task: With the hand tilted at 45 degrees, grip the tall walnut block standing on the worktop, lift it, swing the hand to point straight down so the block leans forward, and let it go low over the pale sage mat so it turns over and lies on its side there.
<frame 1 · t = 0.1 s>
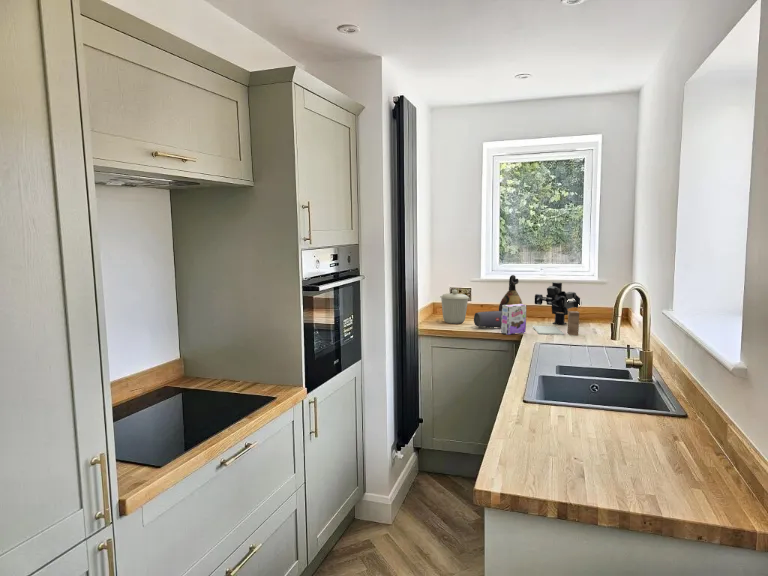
hand: (544, 302, 313), 17 cm above the worktop, tool horizontal, fingers open, 9 cm apart
bluetooth speaker: (493, 327, 320), on the worktop
walnut block: (572, 334, 301), on the worktop
ceramic jug: (510, 321, 343), on the worktop
sage mat: (547, 330, 311), on the worktop
canister: (454, 322, 336), on the worktop
candy box: (513, 333, 303), on the worktop
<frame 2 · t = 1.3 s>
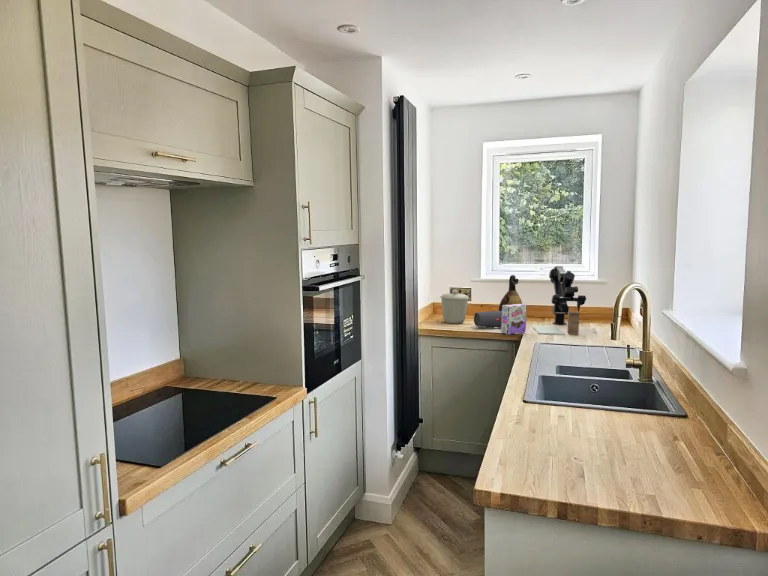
hand: (570, 311, 307), 12 cm above the worktop, tool tilted 45°, fingers open, 9 cm apart
nothing on the worktop moved.
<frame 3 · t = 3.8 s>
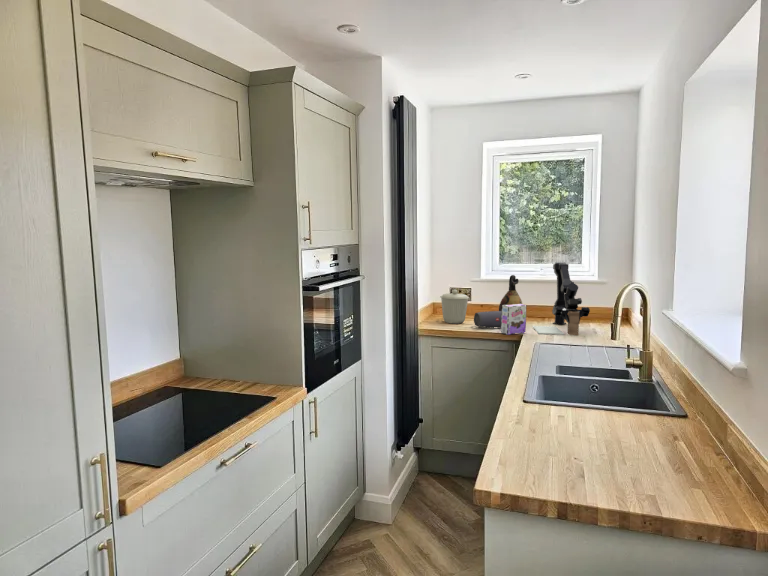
hand: (573, 323, 299), 7 cm above the worktop, tool tilted 45°, fingers closed on walnut block, 5 cm apart
walnut block: (572, 334, 301), on the worktop, touching gripper
everything else where it was.
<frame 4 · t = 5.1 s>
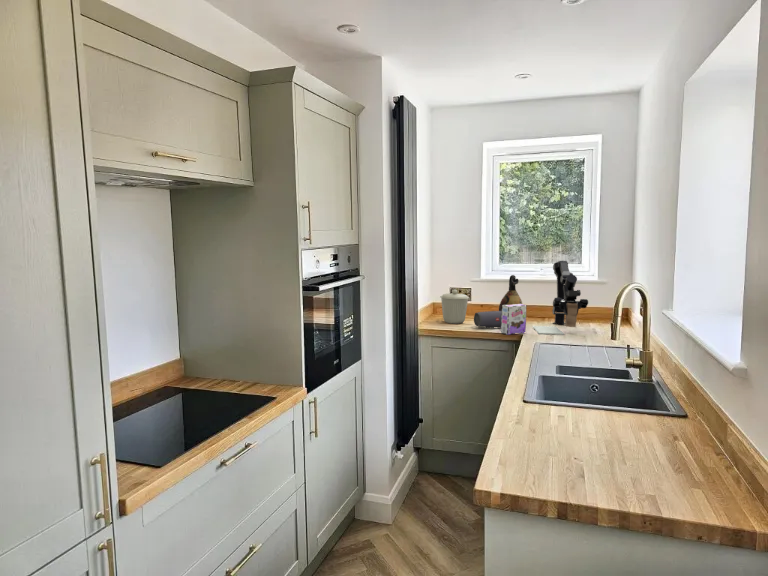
hand: (571, 315, 299), 11 cm above the worktop, tool tilted 40°, fingers closed on walnut block, 5 cm apart
walnut block: (570, 325, 301), point 5 cm above the worktop, touching gripper
everything else where it was.
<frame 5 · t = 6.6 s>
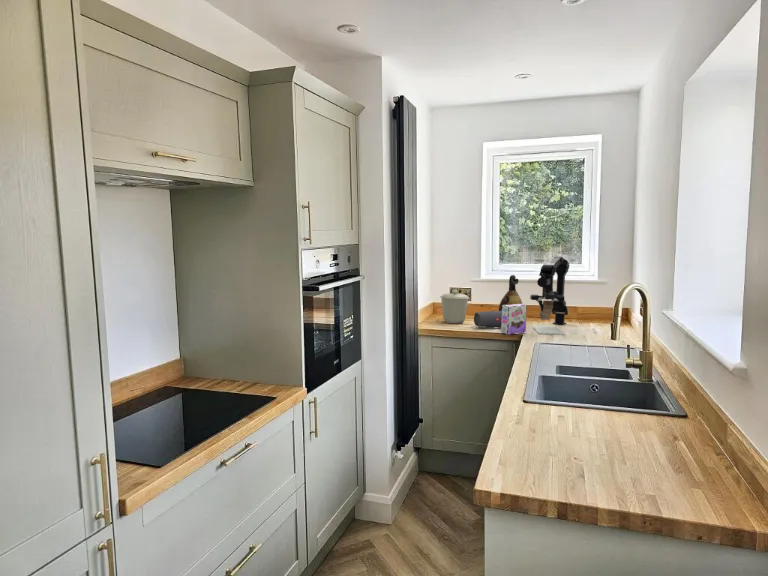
hand: (546, 311, 312), 11 cm above the worktop, tool pointing down, fingers closed on walnut block, 5 cm apart
walnut block: (544, 316, 318), point 7 cm above the worktop, tilted 45°, touching gripper
everything else where it was.
when the fingers open (7 cm above the worktop, at t = 8.2 s): walnut block moves 2 cm and tips over, resting on sage mat.
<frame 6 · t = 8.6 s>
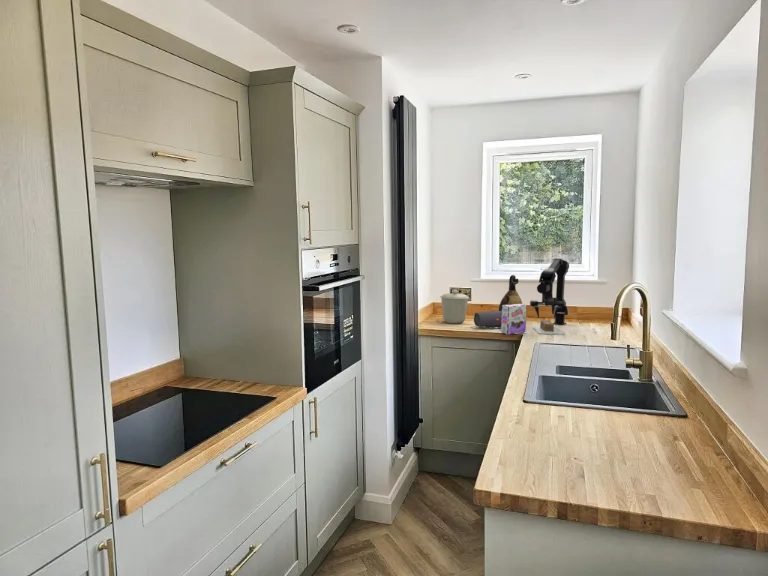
hand: (546, 318, 313), 7 cm above the worktop, tool pointing down, fingers open, 9 cm apart
walnut block: (544, 323, 317), point 3 cm above the worktop, tilted 90°, touching sage mat
everything else where it was.
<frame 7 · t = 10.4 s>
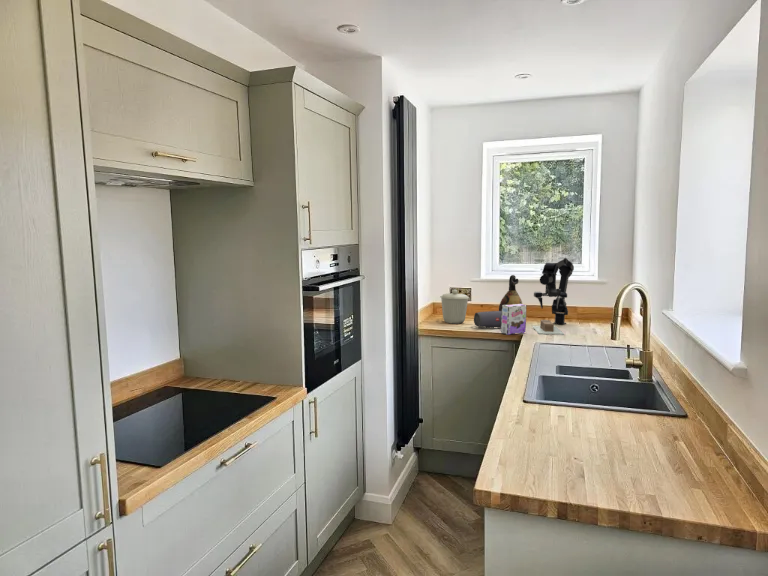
hand: (549, 308, 320), 12 cm above the worktop, tool pointing down, fingers open, 9 cm apart
nothing on the worktop moved.
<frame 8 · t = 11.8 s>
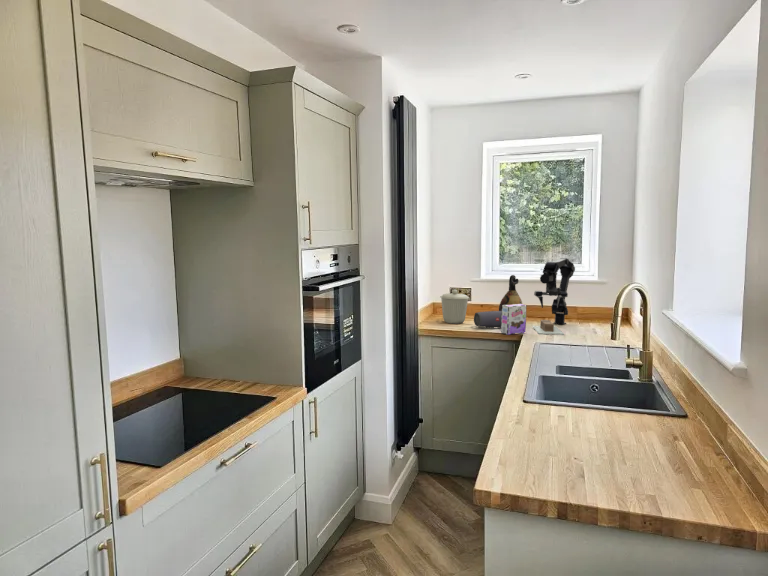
hand: (550, 307, 321), 12 cm above the worktop, tool pointing down, fingers open, 9 cm apart
nothing on the worktop moved.
at the end: walnut block tilted 90°; walnut block touching sage mat; the gripper is holding nothing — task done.
